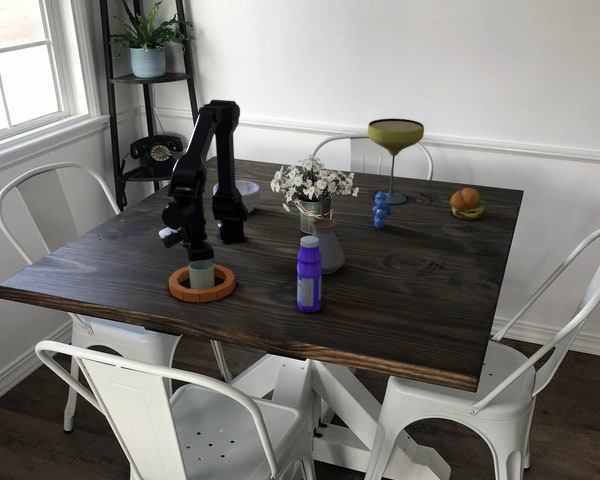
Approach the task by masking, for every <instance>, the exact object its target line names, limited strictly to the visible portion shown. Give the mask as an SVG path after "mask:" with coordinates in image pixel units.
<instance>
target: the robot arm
mask: <svg viewBox="0 0 600 480" xmlns="http://www.w3.org/2000/svg"><path fill="white" fill-rule="evenodd" d="M240 107H241V106H239V104H238V103H237V102H236V101H235V100H226V99H211V100H210V102H209V103H204V104H202V106H200V107H199V108H198V111H197V120H196V123H195V126H194V129H193V132H192V134H191V138H190V141H189V143H188V147H187V149H186V151H185V153H184V154H183V155H181V156H180V157H179V158H178V159H177V160H176V163H175V165H174V167H173V169H172V170H171V175H170V180H169V184H168V188H167V189H168V190H167V194H166V195H167V197H171V198H172V199H169V200H168V201H167V206H166V207H164V209H163V210H162V213H161V221H162V223H163V224H164V225H165V227H166V228H163V229H161V230H160V231H159V232H158V235H159V237H160V240H161V242H162V243H163V245H164V247H165V249H170V248H172V247H173V246H176V245H178V244H180V243H181V245H182V247H183V248H184V249H185V250H184V253H185V255H186V258H187V260H188V262H190V263H192V262H194V261H200V260H207V261H208V260H213V259H215V251H214V248H213V246H212V245H211V244H210V243H209V242H206V241H207V240H208V235H207V233H206V225H207V219H206V217H205V209H204V195H203V194H204V193H205V191H206V189H205V187H206V183H207V180H208V176H207V173H208V169H207V165H206V160H207V156H208V154H209V151H210V148H211V145H212V143H213V138H214V136H215V138H214V139H215V153H216V154H215V155H216V156H215V157H216V171H217V184H218V189H217V191H216V193H215V194H214V195H212V197H211V201H212V203H211V210H212V213H213V218H214V220H215V221H219V223H218V224H217V226H218V237H219V239H220V240H221V241H222V243H223V244H234V243H240V242H241V243H243V242H246V241H247V240H246V237H245V234H244V233H245V231H244V229H245V228H244V222H247V221H248V217H249V213H248V210H247V208H246V207H245V205H244V204H243V202H242V195H241V193H240V192H239V190H238V189H237V187H236V185H235V180H236V168H235V167H236V166H235V165H236V164H235V145H234V143H235V142H234V141H235V140H234V134H235V132H236V129H237V128H238V126H239V124H240V123H239V122H240V117H241V108H240Z"/></svg>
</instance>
